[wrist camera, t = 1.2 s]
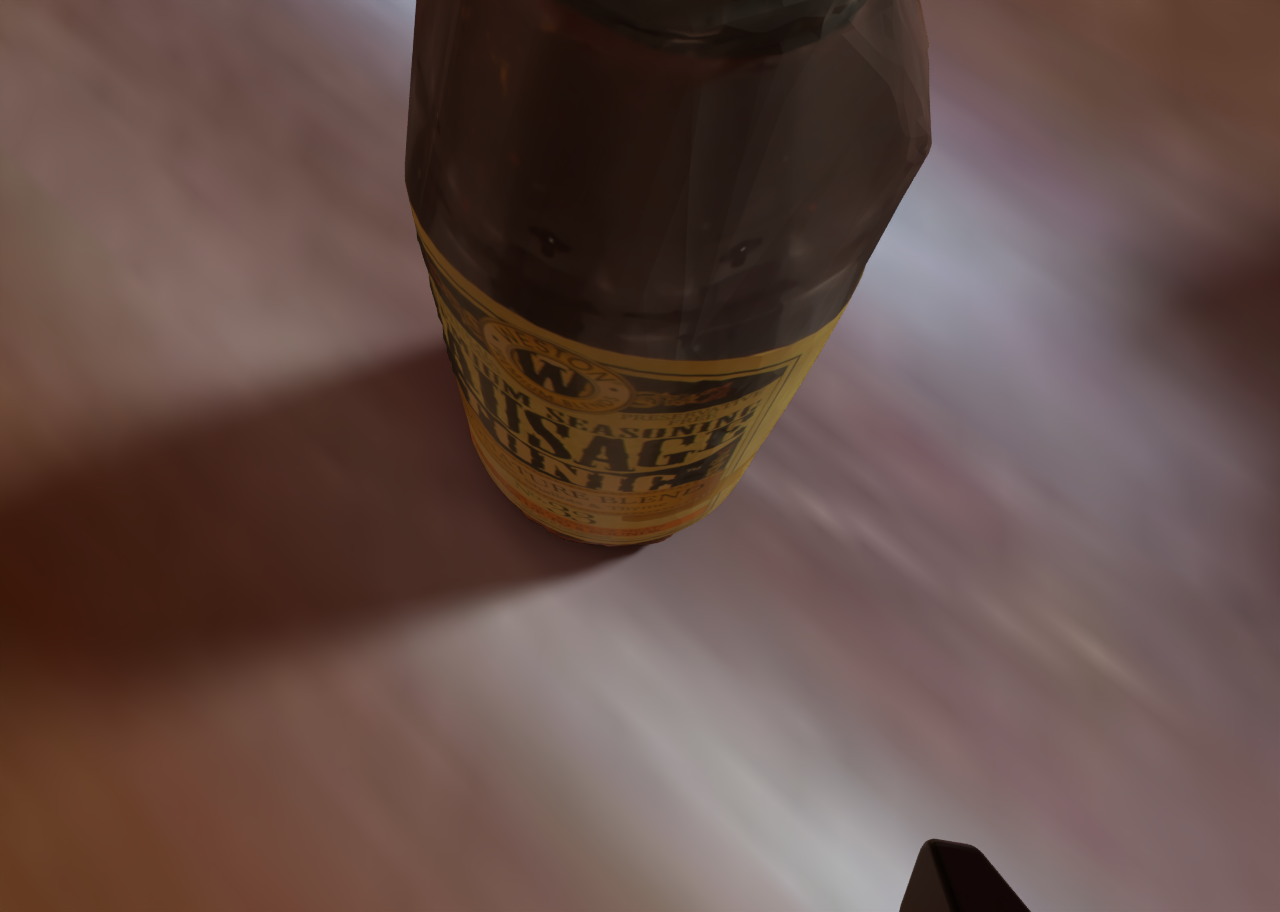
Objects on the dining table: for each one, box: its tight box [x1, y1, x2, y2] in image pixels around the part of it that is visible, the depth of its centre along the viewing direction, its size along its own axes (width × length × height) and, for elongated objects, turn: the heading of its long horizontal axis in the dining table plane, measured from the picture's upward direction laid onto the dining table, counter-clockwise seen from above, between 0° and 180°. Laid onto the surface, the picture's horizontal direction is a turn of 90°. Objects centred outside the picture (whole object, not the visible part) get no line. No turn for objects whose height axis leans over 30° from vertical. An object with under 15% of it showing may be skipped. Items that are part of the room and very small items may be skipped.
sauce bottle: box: [405, 0, 932, 546], centre depth 14 cm, size 7×6×20 cm
